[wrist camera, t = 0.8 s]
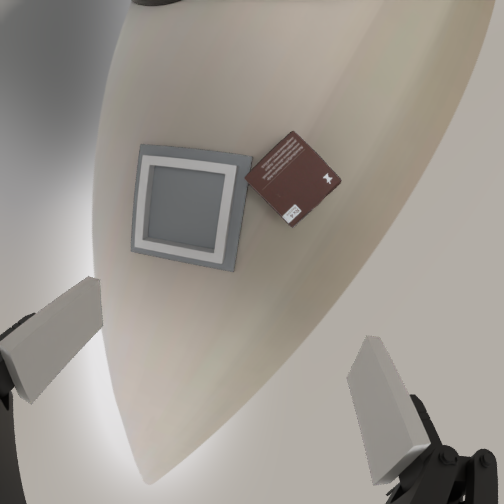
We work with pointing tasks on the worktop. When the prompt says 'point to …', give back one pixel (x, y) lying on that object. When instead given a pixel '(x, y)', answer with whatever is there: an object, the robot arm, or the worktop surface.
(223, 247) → the grey and white frame
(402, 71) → the worktop surface
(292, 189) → the box
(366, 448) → the robot arm
